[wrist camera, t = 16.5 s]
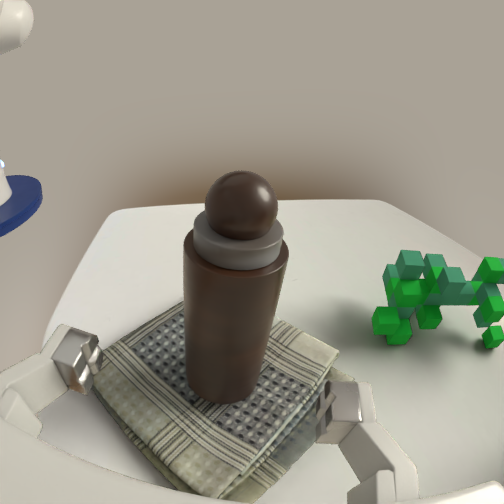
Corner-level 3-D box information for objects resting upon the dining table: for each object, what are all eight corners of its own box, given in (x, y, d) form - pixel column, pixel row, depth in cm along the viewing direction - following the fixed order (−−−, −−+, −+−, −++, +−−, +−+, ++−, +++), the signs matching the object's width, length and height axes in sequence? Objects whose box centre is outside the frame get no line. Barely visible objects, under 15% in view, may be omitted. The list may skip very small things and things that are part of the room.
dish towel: (76, 375, 23) (66, 353, 22) (214, 291, 36) (216, 269, 34) (232, 536, 15) (236, 533, 13) (358, 386, 27) (371, 366, 25)
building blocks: (385, 405, 28) (420, 312, 22) (343, 330, 39) (354, 239, 33) (503, 350, 31) (540, 267, 24) (454, 298, 41) (476, 220, 35)
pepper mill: (187, 405, 21) (182, 194, 12) (185, 346, 25) (188, 152, 16) (263, 402, 22) (320, 202, 13) (252, 346, 26) (288, 159, 18)
